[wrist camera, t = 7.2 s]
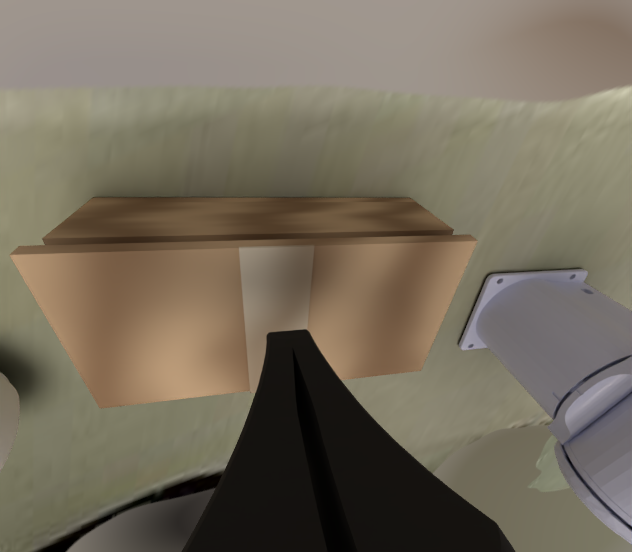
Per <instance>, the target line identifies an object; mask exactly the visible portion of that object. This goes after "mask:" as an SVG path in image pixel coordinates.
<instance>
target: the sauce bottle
mask: <svg viewBox="0 0 632 552" xmlns="http://www.w3.org/2000/svg"><path fill="white" fill-rule="evenodd" d="M19 412H20V403H19V395H18V393H17V390H16V389H15V388H14V387H13V385H12V384H10V383H9V380H8V379H7V377H6V376H5V375H4V374H2V373H1V372H0V471H1V469H2V467H3V466H4V464H5V462H6V460H7V458H8V456H9V453H10V451H11V449H12V446H13V443H14V441H15V437H16V434H17V429H18V424H19Z"/></svg>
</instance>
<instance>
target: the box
mask: <svg viewBox="0 0 632 552" xmlns="http://www.w3.org/2000/svg"><path fill="white" fill-rule="evenodd" d="M453 231H454V230H453V229H452V228H451V227H449V226H448V225H447V224H445V223H444V222H443V221H441V220H440V219H438V218H437V217H436V216H434V215H433V214H432V213H430V212H429V211H427V210H426V209H425V208H423V207H422V206H421V205H419V204H418V203H417V202H415V201H414V200H412V199H411V198H195V197H93V198H92V199H91V200H89V201H88V202H87V203H86V204H84V205H83V206H82V207H81V208H79V209H78V210H77V211H76V212H74V213H73V214H72V215H71V216H70V217H68V218H67V219H66V220H65V221H63V222H62V223H61V224H60V225H58V226H57V227H56V228H55V229H53V230H52V231H51V232H50V233H48V234H47V235H46V236H45V237H43V238H42V239H43V242H44V244H45V245H79V244H118V243H158V242H198V241H238V240H278V239H317V238H357V237H397V236H437V235H452V234H453Z"/></svg>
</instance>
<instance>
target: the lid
mask: <svg viewBox="0 0 632 552" xmlns="http://www.w3.org/2000/svg"><path fill="white" fill-rule="evenodd" d="M476 244H477V240H476V239H475V238H474V237H472V236H471V235H437V236H397V237H357V238H317V239H278V240H238V241H198V242H158V243H118V244H79V245H39V246H19V247H18V248H16V249H15V250H14V251H13V252H12V253H11V254H10V257H11V258H12V260H13V262H14V264H15V265H16V267H17V269H18V270H19V272H20V274H21V275H22V277H23V279H24V281H25V282H26V284H27V286H28V287H29V289H30V291H31V292H32V294H33V296H34V297H35V299H36V301H37V303H38V304H39V306H40V308H41V309H42V311H43V313H44V314H45V316H46V318H47V320H48V321H49V323H50V325H51V326H52V328H53V330H54V331H55V333H56V335H57V336H58V338H59V340H60V342H61V343H62V345H63V347H64V348H65V350H66V352H67V353H68V355H69V357H70V359H71V360H72V362H73V364H74V365H75V367H76V369H77V370H78V372H79V374H80V375H81V377H82V379H83V381H84V382H85V384H86V386H87V387H88V389H89V391H90V392H91V394H92V396H93V398H94V399H95V401H96V403H97V404H98V406H99V408H108V407H117V406H125V405H134V404H142V403H151V402H159V401H168V400H176V399H184V398H193V397H201V396H210V395H218V394H227V393H235V392H244V391H250V393H255V392H256V390H257V387H258V383H259V380H260V376H261V372H262V368H263V363H264V358H265V353H266V343H267V340H266V335H267V334H268V333H269V332H278V331H290V330H302V329H307V330H308V331H309V332H310V334H311V336H312V338H313V339H314V341H315V343H316V345H317V346H318V348H319V350H320V351H321V353H322V354H323V356H324V357H325V359H326V360H327V362H328V363H329V365H330V366H331V367H332V369H333V370H334V372H335V373H336V374H337V376H338V377H339V378H340V380H345V379H354V378H362V377H371V376H379V375H388V374H396V373H405V372H413V371H421V369H422V367H423V365H424V362H425V360H426V358H427V356H428V353H429V351H430V349H431V346H432V344H433V342H434V340H435V337H436V335H437V333H438V330H439V328H440V326H441V324H442V321H443V319H444V317H445V314H446V312H447V310H448V308H449V305H450V303H451V301H452V299H453V296H454V294H455V292H456V289H457V287H458V285H459V283H460V280H461V278H462V276H463V273H464V271H465V269H466V267H467V264H468V262H469V260H470V257H471V255H472V253H473V251H474V248H475V246H476Z"/></svg>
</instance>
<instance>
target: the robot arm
mask: <svg viewBox="0 0 632 552" xmlns="http://www.w3.org/2000/svg"><path fill="white" fill-rule="evenodd" d="M587 275H588V272H587V271H586V270H584V269H573V270H555V271H536V272H518V273H499V274H491V275H489V276H488V277H487V279H486V281H485V283H484V286H483V288H482V291H481V293H480V295H479V298H478V300H477V303H476V305H475V307H474V310H473V312H472V315H471V317H470V319H469V322H468V324H467V326H466V329H465V331H464V334H463V336H462V338H461V341H460V343H459V347H460V348H461V349H462V350H470V349H479V348H489V349H490V350H491V352H492V353H493V354H494V355H495V356H496V357H497V358H498V359H499V360H500V362H501V363H502V364H503V365H504V366H505V367H506V368H507V369H508V370H509V372H510V373H511V374H512V375H513V376H514V377H515V378H516V379H517V380H518V381H519V383H520V384H521V385H522V386H523V387H524V388H525V389H526V390H527V391H528V393H529V394H530V395H531V396H532V397H533V398H534V399H535V400H536V401H537V403H538V404H539V405H540V406H541V407H542V408H543V409H544V410H545V411H546V413H547V414H548V415H549V416H550V417H551V418H552V419H553V420H554V421H553V422H552V423H551V424H550V425H549V426H548V429H549V430H550V431H551V432H552V433H553V435H554V436H555V437H556V438H557V439H558V441H557V442H556V443H555V446H554V451H555V455H556V458H557V461H558V465H559V468H560V470H561V472H562V474H563V476H564V478H565V479H566V481H567V483H568V484H569V486H570V487H571V488H572V490H573V491H574V492H575V494H576V495H577V496H578V497H579V498H580V500H581V501H582V502H583V503H584V504H585V505H586V507H587V508H589V510H590V511H591V512H592V513H593V514H594V515H595V516H596V517H597V518H598V519H600V520H601V521H602V522H603V523H604V524H605V525H606V526H607V527H609V528H610V529H611V530H612V531H614V532H615V533H616V534H618V535H619V536H621V537H622V538H624V539H625V540H626V541H628V542H629V543H630V544H631V545H632V311H631V310H629V309H627V308H626V307H624V306H622V305H621V304H619V303H618V302H616V301H614V300H613V299H611V298H609V297H608V296H606V295H604V294H603V293H601V292H599V291H598V290H596V289H594V288H593V287H591V286H589V285H588V284H586V283H584V280H585V278H586V277H587ZM266 340H267V343H266V353H265V358H264V363H263V368H262V372H261V376H260V380H259V383H258V387H257V390H256V393H255V396H254V399H253V402H252V405H251V408H250V411H249V414H248V417H247V419H246V422H245V425H244V427H243V430H242V432H241V435H240V437H239V439H238V442H237V444H236V447H235V449H234V451H233V453H232V455H231V458H230V460H229V462H228V464H227V466H226V469H225V471H224V473H223V475H222V477H221V479H220V481H219V483H218V485H217V487H216V489H215V491H214V493H213V495H212V497H211V499H210V501H209V503H208V505H207V506H206V509H205V510H204V512H203V514H202V516H201V518H200V520H199V522H198V524H197V525H196V527H195V529H194V531H193V533H192V534H191V536H190V538H189V540H188V542H187V543H186V545H185V547H184V548H183V550H182V552H515V550H514V549H513V547H512V545H511V544H510V543H509V541H508V540H507V538H506V537H505V535H504V534H503V532H502V531H501V529H500V528H499V526H498V525H497V523H495V522H494V521H493V520H491V519H490V518H489V517H487V516H486V515H485V514H483V513H482V512H481V511H479V510H478V509H477V508H475V507H474V506H473V505H471V504H470V503H469V502H467V501H466V500H464V499H463V498H462V497H461V496H459V495H458V494H457V493H455V492H454V491H453V490H452V489H450V488H449V487H448V486H447V485H445V484H444V483H443V482H442V481H440V480H439V479H438V478H437V477H436V476H434V475H433V474H432V473H431V472H430V471H428V470H427V469H426V468H425V467H424V466H423V465H422V464H420V463H419V462H418V461H417V460H416V459H415V458H414V457H413V456H412V455H410V454H409V453H408V452H407V451H406V450H405V449H404V448H403V447H401V446H400V445H399V444H398V443H397V442H396V441H395V440H394V439H393V438H392V437H391V436H390V435H389V434H388V433H387V432H386V431H385V430H384V429H383V428H382V427H381V426H380V425H379V424H378V423H377V422H376V421H375V420H374V419H373V418H372V417H371V416H370V415H369V413H368V412H367V411H366V410H365V409H364V408H363V407H362V406H361V404H360V403H359V402H358V401H357V400H356V398H355V397H354V396H353V395H352V394H351V392H350V391H349V390H348V389H347V387H346V386H345V385H344V384H343V382H342V381H341V380H340V378H339V377H338V376H337V374H336V373H335V372H334V370H333V369H332V367H331V366H330V365H329V363H328V362H327V360H326V359H325V357H324V356H323V354H322V353H321V351H320V350H319V348H318V346H317V345H316V343H315V341H314V339H313V338H312V336H311V334H310V332H309V331H308V330H307V329H302V330H290V331H278V332H269V333H268V334H267V335H266Z"/></svg>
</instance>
